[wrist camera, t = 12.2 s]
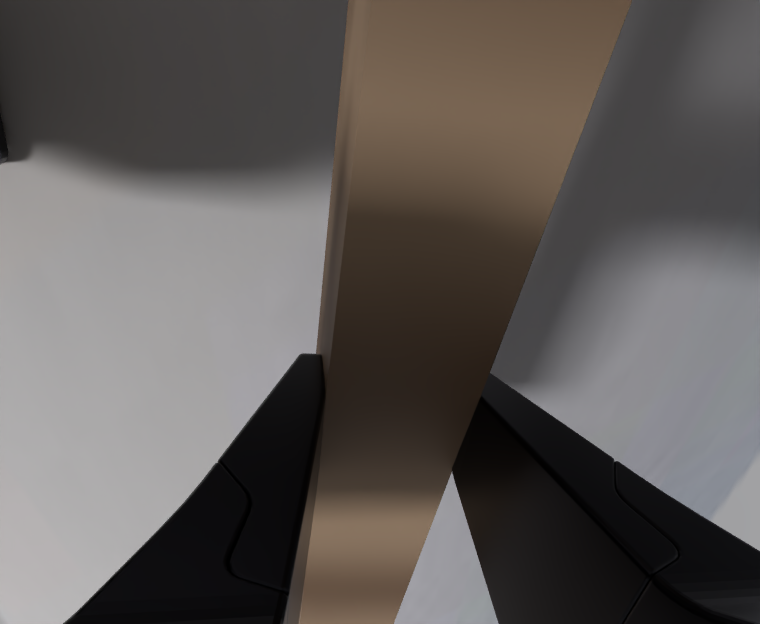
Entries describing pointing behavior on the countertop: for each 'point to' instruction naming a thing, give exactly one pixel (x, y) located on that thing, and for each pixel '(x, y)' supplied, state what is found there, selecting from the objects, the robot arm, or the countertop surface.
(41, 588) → the countertop surface
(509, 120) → the bar
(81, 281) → the countertop surface
